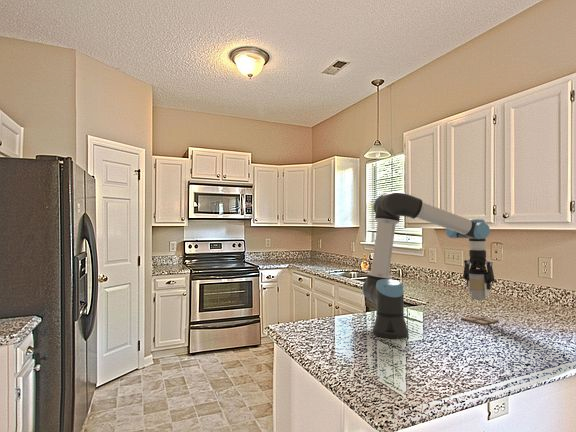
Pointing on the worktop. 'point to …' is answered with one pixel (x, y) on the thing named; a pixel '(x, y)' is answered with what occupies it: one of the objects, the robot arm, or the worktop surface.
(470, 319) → the plate
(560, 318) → the worktop surface
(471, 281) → the coffee cup
